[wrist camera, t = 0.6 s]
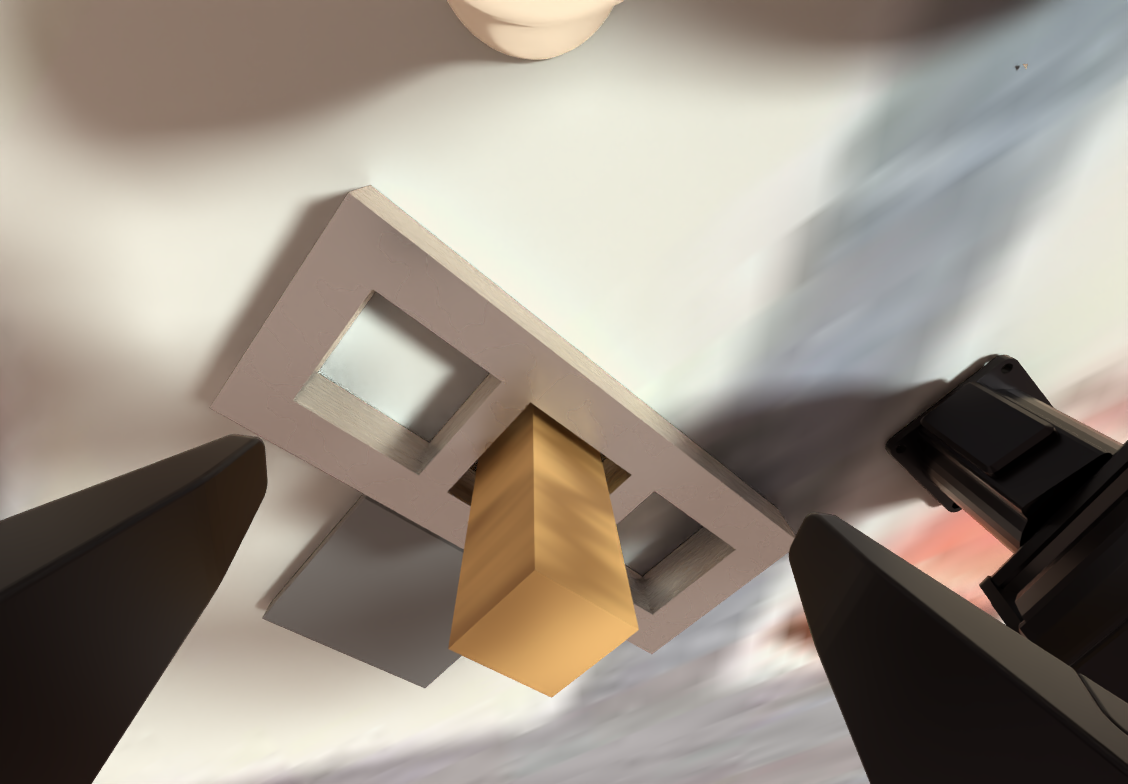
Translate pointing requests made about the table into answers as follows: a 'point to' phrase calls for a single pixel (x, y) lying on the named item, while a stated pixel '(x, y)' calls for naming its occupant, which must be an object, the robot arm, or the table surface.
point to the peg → (541, 559)
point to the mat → (377, 593)
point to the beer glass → (533, 24)
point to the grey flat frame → (485, 410)
